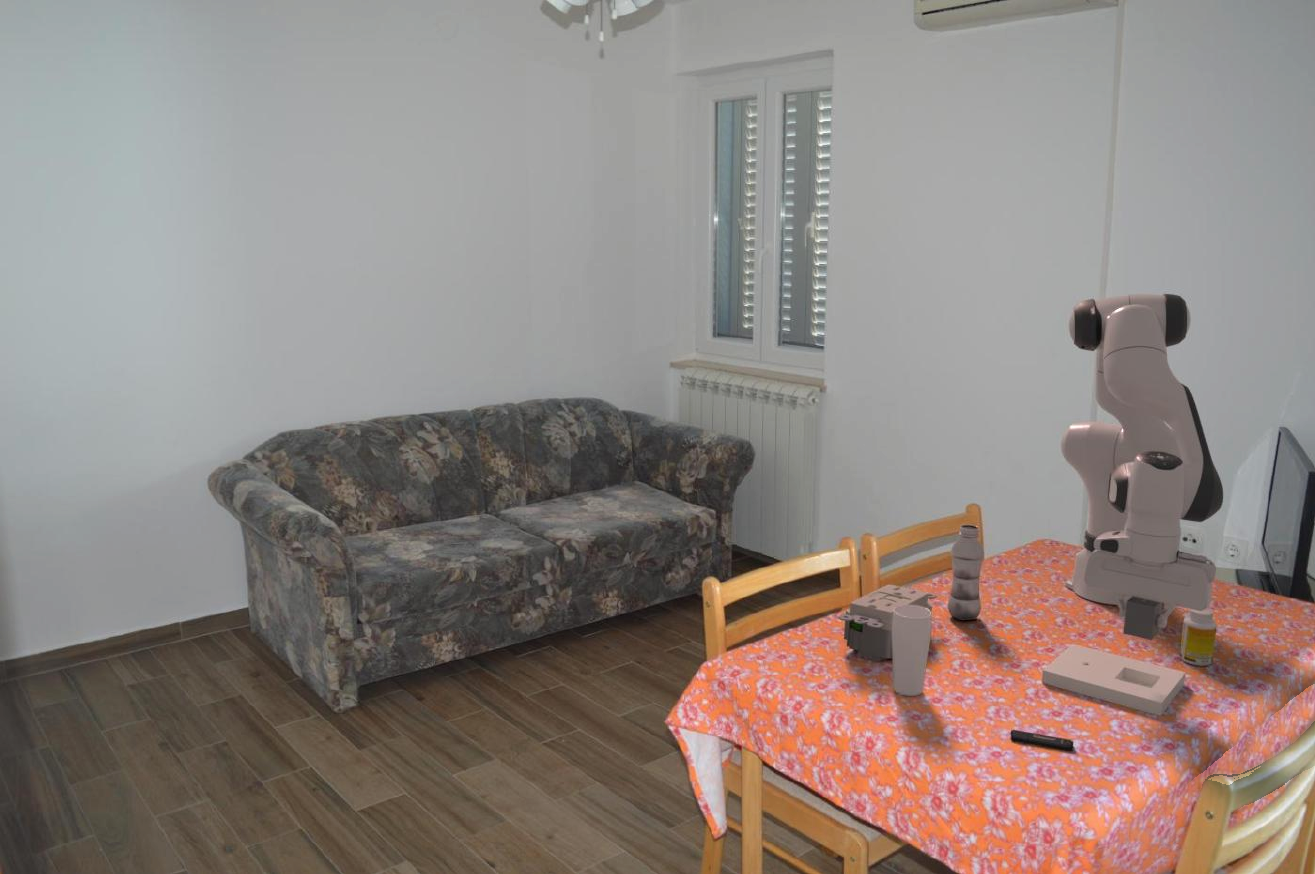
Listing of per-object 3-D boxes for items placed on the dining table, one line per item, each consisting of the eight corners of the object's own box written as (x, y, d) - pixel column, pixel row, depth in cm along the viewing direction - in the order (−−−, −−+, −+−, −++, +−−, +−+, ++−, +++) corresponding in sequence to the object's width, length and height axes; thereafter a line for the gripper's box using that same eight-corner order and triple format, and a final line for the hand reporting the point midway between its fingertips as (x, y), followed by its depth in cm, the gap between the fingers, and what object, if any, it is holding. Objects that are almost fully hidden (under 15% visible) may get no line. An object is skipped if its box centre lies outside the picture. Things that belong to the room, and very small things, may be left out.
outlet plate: (1071, 655, 197) (1072, 643, 196) (1184, 684, 184) (1185, 671, 184) (1041, 682, 185) (1042, 669, 184) (1160, 715, 172) (1161, 702, 172)
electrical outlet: (825, 657, 194) (829, 607, 192) (889, 623, 216) (892, 577, 215) (882, 673, 187) (887, 621, 185) (942, 636, 209) (946, 589, 208)
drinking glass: (920, 702, 176) (925, 621, 174) (882, 693, 180) (887, 613, 177) (932, 688, 182) (937, 608, 179) (895, 679, 186) (899, 601, 183)
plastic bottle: (983, 623, 212) (990, 531, 208) (951, 623, 212) (957, 531, 209) (975, 612, 219) (981, 523, 215) (943, 612, 219) (949, 522, 215)
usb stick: (1009, 742, 164) (1010, 734, 163) (1010, 735, 166) (1011, 726, 166) (1072, 754, 160) (1073, 745, 160) (1072, 747, 162) (1073, 738, 162)
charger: (1131, 626, 183) (1134, 593, 181) (1158, 632, 180) (1162, 600, 179) (1123, 633, 179) (1126, 600, 178) (1151, 640, 176) (1155, 606, 175)
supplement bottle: (1218, 666, 192) (1224, 615, 190) (1189, 667, 192) (1195, 615, 190) (1201, 654, 197) (1207, 604, 195) (1173, 655, 197) (1179, 605, 195)
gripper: (1221, 554, 172) (1212, 631, 175) (1096, 531, 185) (1089, 603, 188) (1212, 562, 168) (1203, 641, 170) (1085, 538, 181) (1077, 612, 183)
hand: (1142, 621), depth 179 cm, fingers closed on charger, 5 cm apart
